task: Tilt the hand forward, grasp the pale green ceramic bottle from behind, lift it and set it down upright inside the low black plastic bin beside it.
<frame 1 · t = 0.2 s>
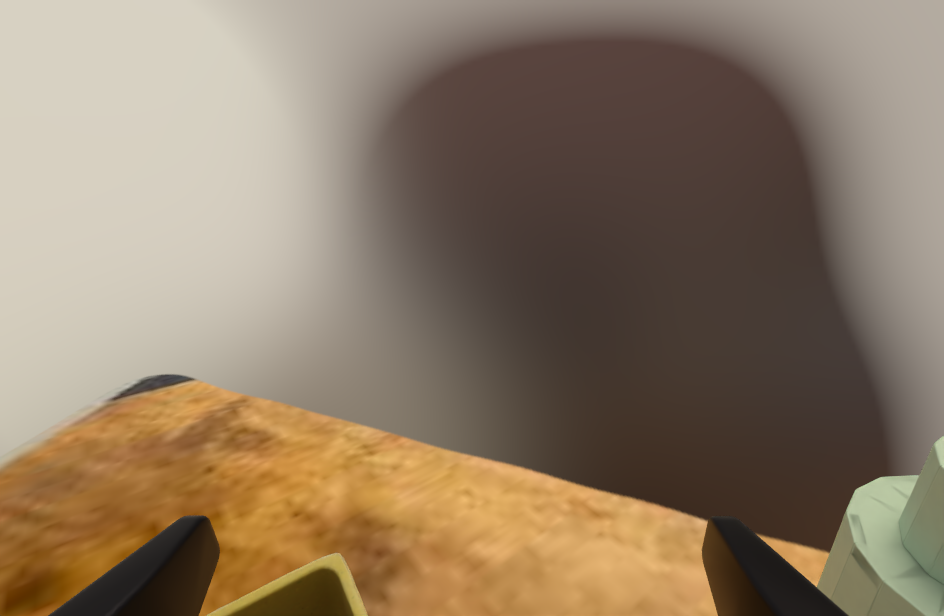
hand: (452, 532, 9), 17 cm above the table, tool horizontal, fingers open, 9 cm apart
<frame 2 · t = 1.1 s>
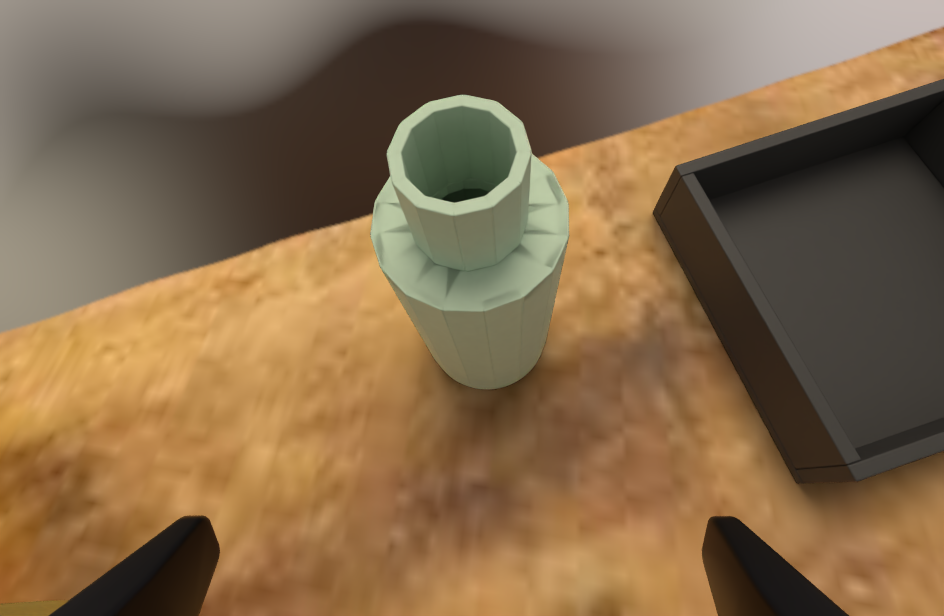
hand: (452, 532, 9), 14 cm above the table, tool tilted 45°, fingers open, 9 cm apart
bottle: (487, 332, 25), on the table
bin: (853, 287, 24), on the table
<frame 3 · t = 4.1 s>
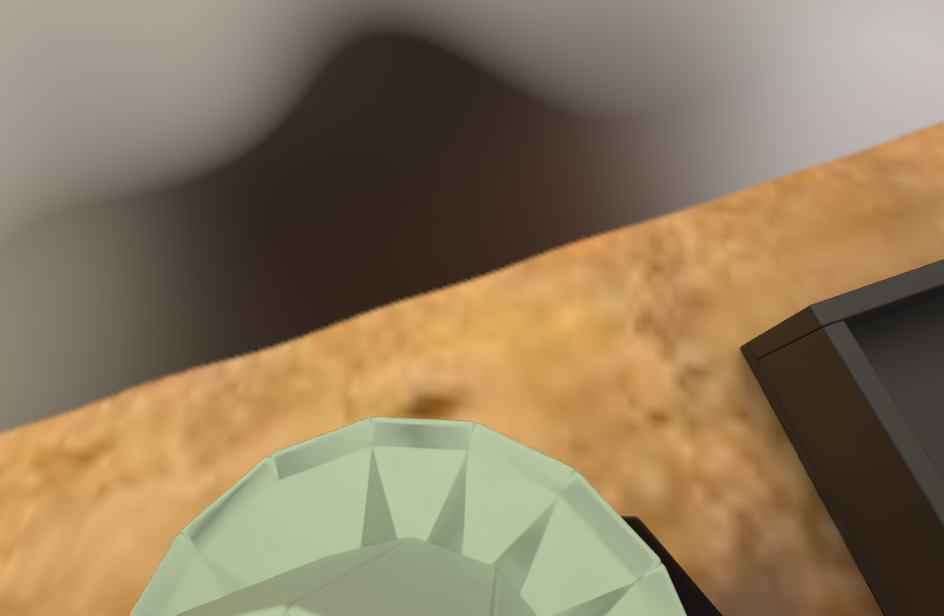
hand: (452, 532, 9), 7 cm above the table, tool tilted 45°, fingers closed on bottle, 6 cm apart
bottle: (473, 563, 15), on the table, touching gripper
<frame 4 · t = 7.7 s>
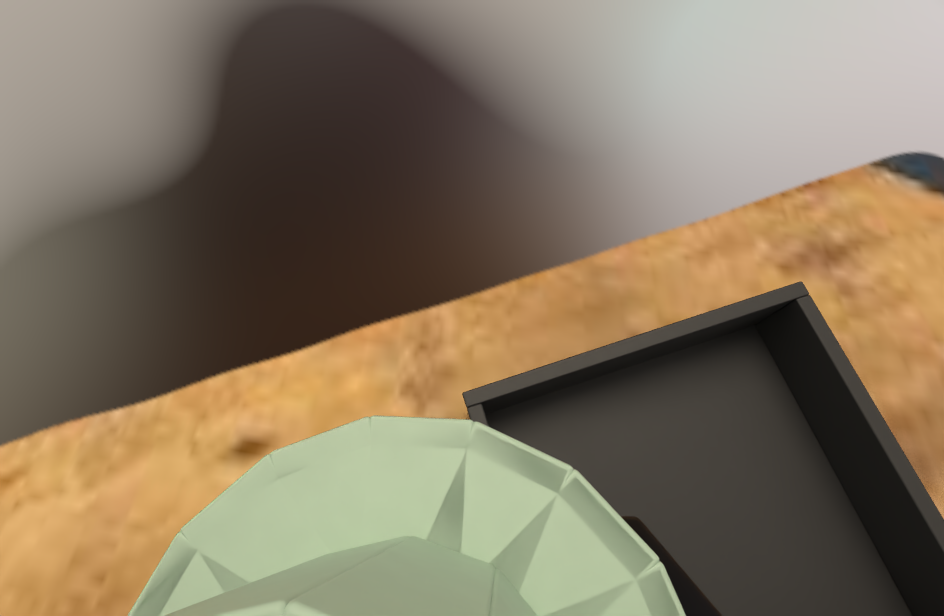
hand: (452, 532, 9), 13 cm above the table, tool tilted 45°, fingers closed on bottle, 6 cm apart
bottle: (473, 563, 15), point 7 cm above the table, touching gripper
bin: (681, 516, 21), on the table
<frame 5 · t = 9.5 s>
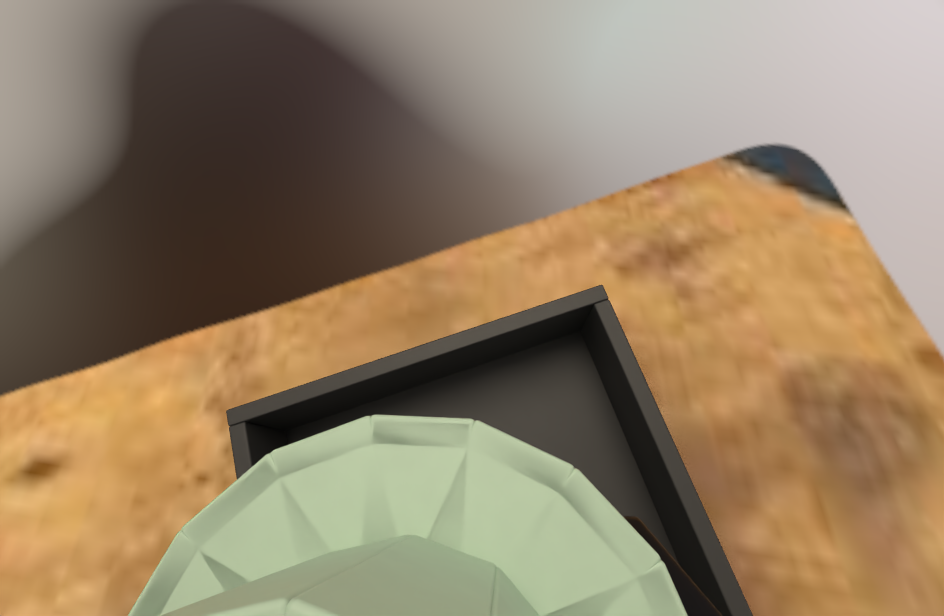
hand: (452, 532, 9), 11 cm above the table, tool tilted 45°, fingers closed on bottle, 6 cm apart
bottle: (473, 563, 15), point 5 cm above the table, touching gripper
bin: (485, 540, 19), on the table
when the fingers open (7 cm above the table, at t = 11.2 s): bottle stays where it is, point 1 cm above the table.
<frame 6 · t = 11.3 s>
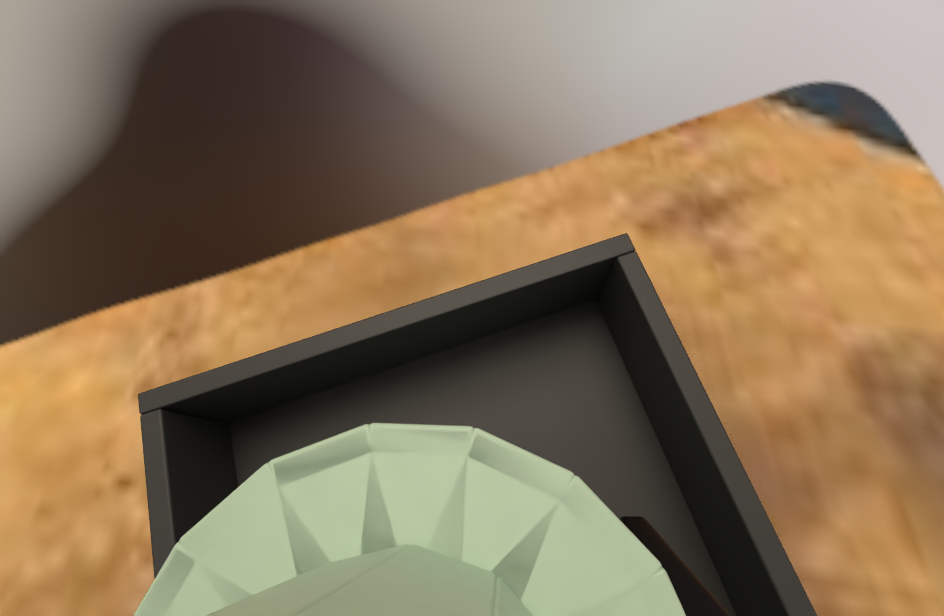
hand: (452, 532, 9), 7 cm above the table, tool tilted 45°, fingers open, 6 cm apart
bottle: (474, 566, 15), point 1 cm above the table
bin: (476, 562, 15), on the table
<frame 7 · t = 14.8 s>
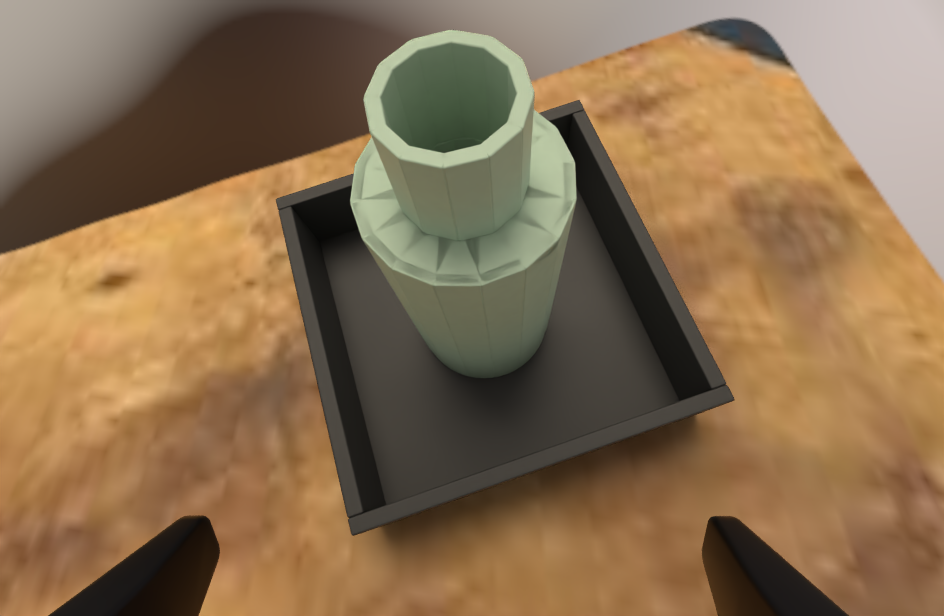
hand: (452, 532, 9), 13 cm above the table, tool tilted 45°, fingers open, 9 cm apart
bottle: (484, 317, 23), resting on bin
bin: (485, 319, 23), on the table
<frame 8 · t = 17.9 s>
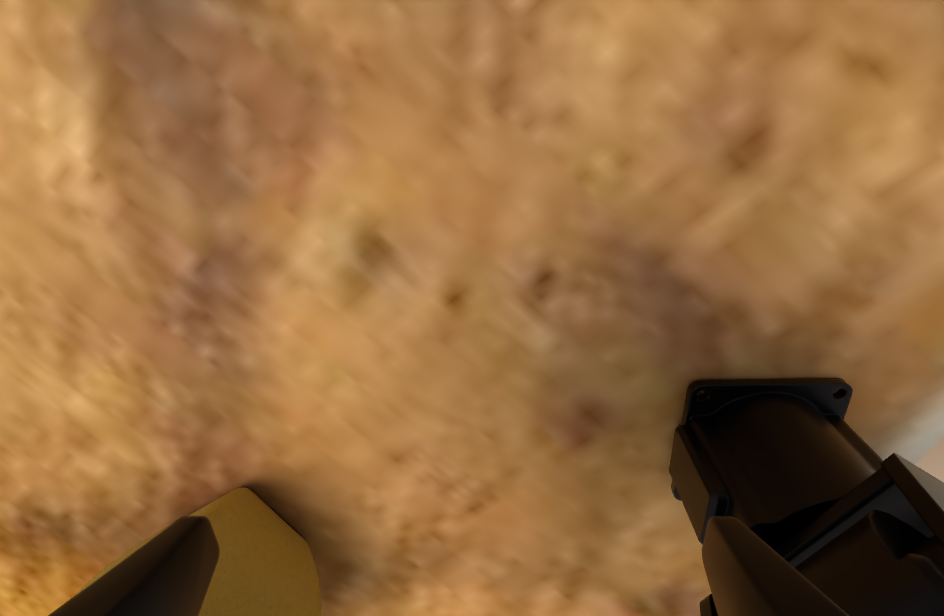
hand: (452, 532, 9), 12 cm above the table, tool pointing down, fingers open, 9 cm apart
flower pot: (246, 526, 27), on the table
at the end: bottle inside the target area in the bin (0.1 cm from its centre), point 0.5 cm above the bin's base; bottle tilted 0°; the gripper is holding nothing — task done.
